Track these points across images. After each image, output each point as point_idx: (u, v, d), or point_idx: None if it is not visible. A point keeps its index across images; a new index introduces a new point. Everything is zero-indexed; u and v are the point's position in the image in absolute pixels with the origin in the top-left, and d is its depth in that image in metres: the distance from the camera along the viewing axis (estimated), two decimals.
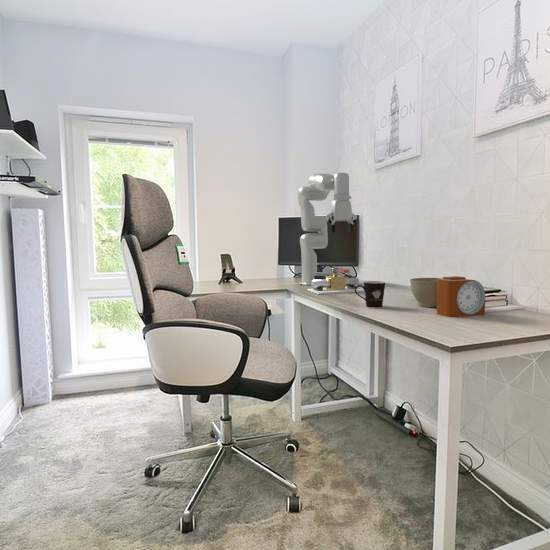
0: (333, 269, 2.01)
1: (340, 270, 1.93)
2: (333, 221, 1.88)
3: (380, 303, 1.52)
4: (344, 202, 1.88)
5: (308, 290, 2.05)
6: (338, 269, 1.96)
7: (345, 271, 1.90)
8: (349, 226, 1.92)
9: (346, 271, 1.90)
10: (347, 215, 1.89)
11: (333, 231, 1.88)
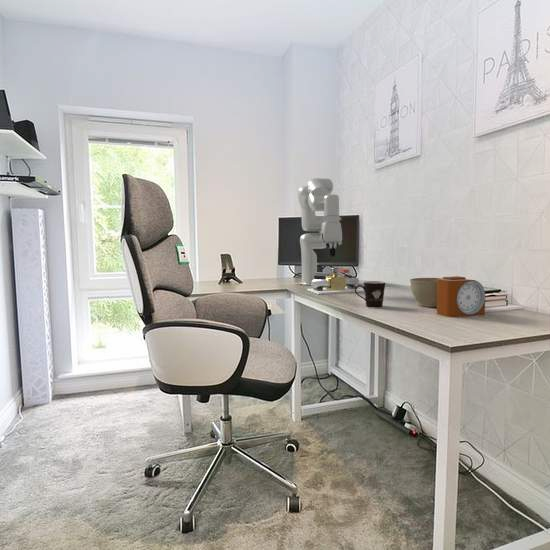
0: (333, 269, 2.01)
1: (340, 270, 1.93)
2: (329, 245, 1.89)
3: (380, 303, 1.52)
4: (334, 224, 1.87)
5: (308, 290, 2.05)
6: (338, 269, 1.96)
7: (345, 271, 1.90)
8: None
9: (346, 271, 1.90)
10: (337, 237, 1.89)
11: (331, 255, 1.89)
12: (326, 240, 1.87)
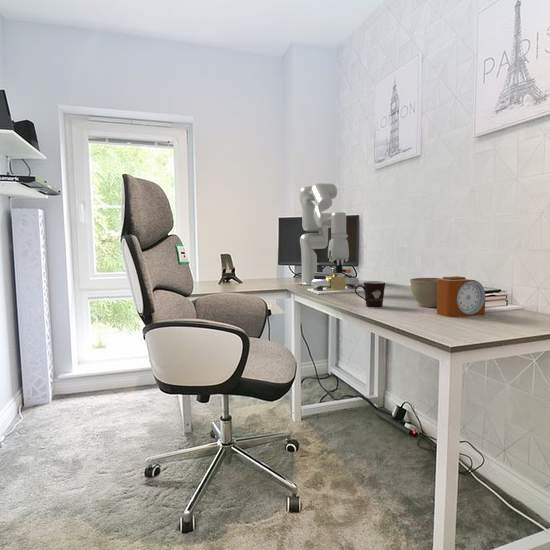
0: (333, 269, 2.01)
1: (342, 270, 1.94)
2: (337, 262, 1.91)
3: (380, 303, 1.52)
4: (341, 241, 1.90)
5: (308, 290, 2.05)
6: None
7: (347, 271, 1.91)
8: None
9: (348, 271, 1.91)
10: (344, 254, 1.91)
11: (338, 272, 1.92)
12: (334, 257, 1.89)
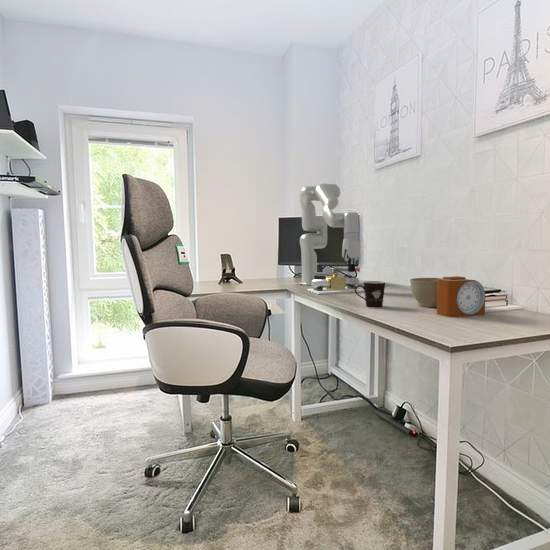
0: (336, 269, 2.01)
1: None
2: (351, 261, 1.95)
3: (380, 303, 1.52)
4: (355, 240, 1.94)
5: (308, 290, 2.05)
6: None
7: (359, 269, 1.98)
8: None
9: (359, 269, 1.99)
10: (357, 253, 1.96)
11: (352, 270, 1.96)
12: (350, 256, 1.92)
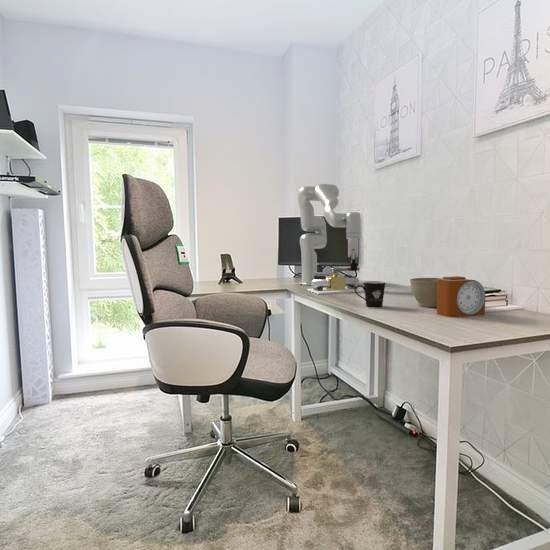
0: (338, 269, 2.01)
1: None
2: None
3: (380, 303, 1.52)
4: None
5: (308, 290, 2.05)
6: (348, 268, 2.02)
7: None
8: None
9: None
10: None
11: (356, 269, 2.00)
12: (357, 255, 1.96)
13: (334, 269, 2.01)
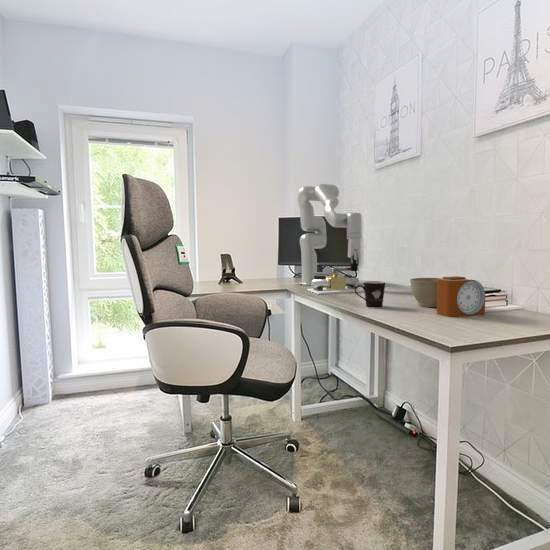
0: (338, 269, 2.02)
1: None
2: (356, 260, 2.00)
3: (380, 303, 1.52)
4: None
5: (308, 290, 2.05)
6: (348, 268, 2.04)
7: None
8: None
9: None
10: None
11: (356, 269, 2.01)
12: (358, 256, 1.97)
13: (335, 269, 2.01)
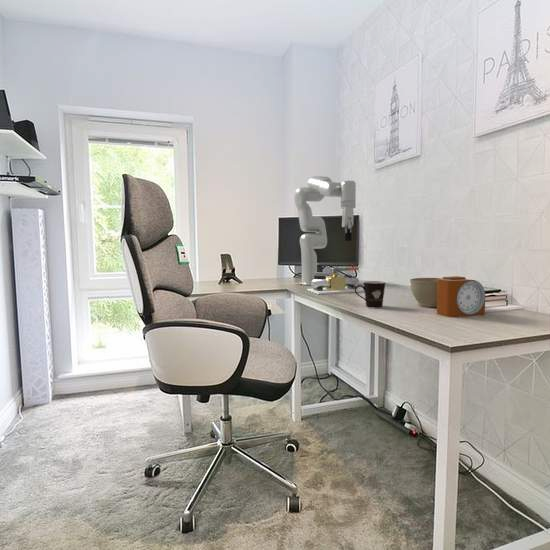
0: (338, 269, 2.02)
1: (352, 268, 2.04)
2: None
3: (380, 303, 1.52)
4: None
5: (308, 290, 2.05)
6: (348, 268, 2.04)
7: None
8: None
9: None
10: None
11: (350, 239, 1.97)
12: None
13: (335, 269, 2.01)
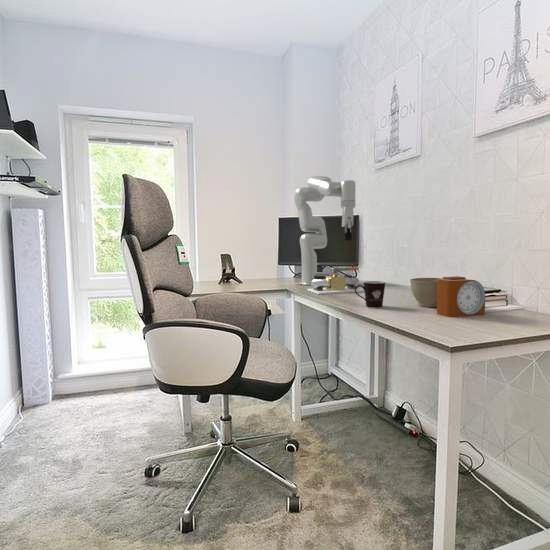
0: (338, 269, 2.02)
1: (352, 268, 2.04)
2: None
3: (380, 303, 1.52)
4: None
5: (308, 290, 2.05)
6: (348, 268, 2.04)
7: None
8: None
9: None
10: None
11: (350, 239, 1.97)
12: (352, 224, 1.93)
13: (335, 269, 2.01)
